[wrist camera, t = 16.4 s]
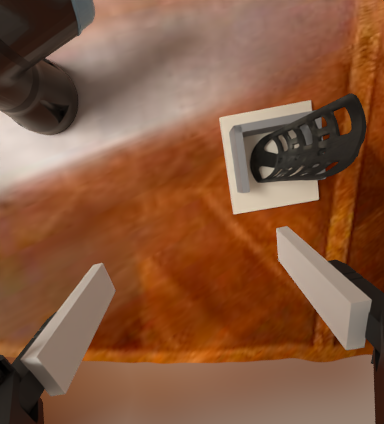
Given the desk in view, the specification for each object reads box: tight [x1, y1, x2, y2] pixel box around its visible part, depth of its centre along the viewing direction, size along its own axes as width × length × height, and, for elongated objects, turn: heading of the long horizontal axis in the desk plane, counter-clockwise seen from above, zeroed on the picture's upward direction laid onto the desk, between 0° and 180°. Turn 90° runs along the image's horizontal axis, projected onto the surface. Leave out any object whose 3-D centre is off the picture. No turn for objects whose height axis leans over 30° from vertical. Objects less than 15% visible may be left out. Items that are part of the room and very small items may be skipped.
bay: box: [219, 100, 326, 214], centre depth 41 cm, size 22×20×6 cm
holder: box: [250, 94, 366, 183], centre depth 33 cm, size 11×8×20 cm
